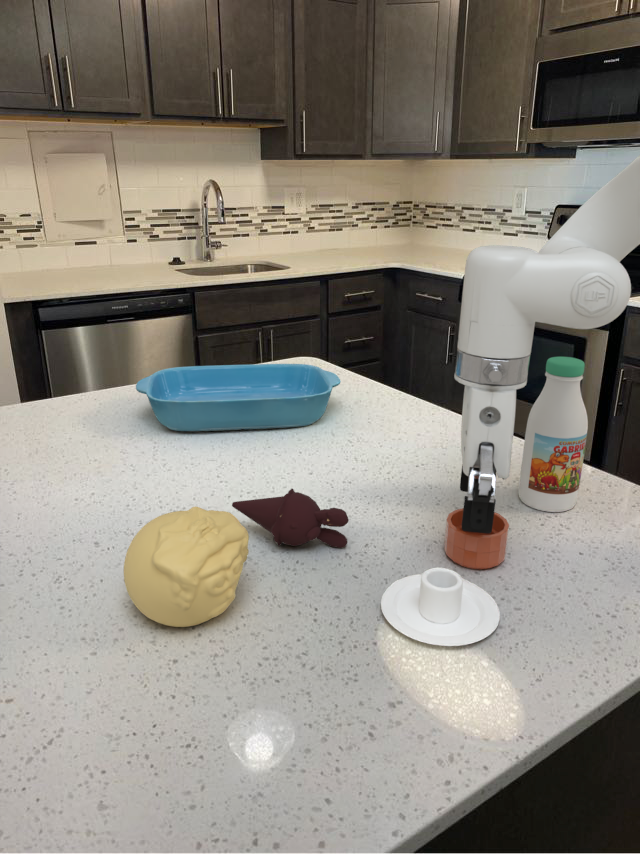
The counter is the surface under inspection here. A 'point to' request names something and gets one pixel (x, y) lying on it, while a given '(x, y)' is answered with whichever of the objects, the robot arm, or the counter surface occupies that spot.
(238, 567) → the sculpture
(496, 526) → the bowl
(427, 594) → the candle holder
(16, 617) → the counter surface
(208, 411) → the casserole dish
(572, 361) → the milk bottle
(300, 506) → the icecream
